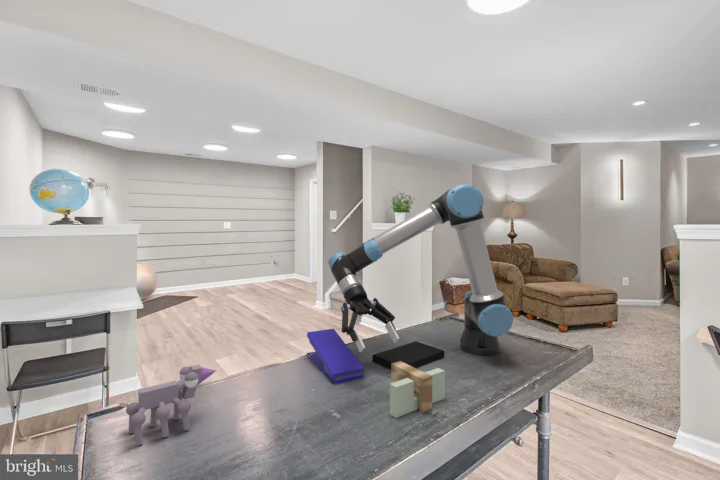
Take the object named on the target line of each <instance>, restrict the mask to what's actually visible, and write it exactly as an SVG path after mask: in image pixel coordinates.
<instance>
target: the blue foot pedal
mask: <svg viewBox="0 0 720 480" xmlns="http://www.w3.org/2000/svg"><path fill="white" fill-rule="evenodd" d="M306 337H307V339H308V340H309V344H310V345H311V347H312V348H313V350H314V351H311V352H307V353H306V356H307V355H309V356H310V357H308V359H309V360H310V361H312V363H314V364H315V365H316V366H317V367H318V368H319V369H320V370H321V371H322V372H323V373H324V374H325V375H326V376H327V377H328V378H329V379H330V380H331V381H333V383H334V384H335V385H336V384H340V383H345V382H349V381H353V380H357V379H361V378H364V377H365V376H364V370H365V368H364V366H363V364H361V362H360V361H359V359H358V358H357V356H355V355H354V353H353V352H352V349H350V347H348V345H347V344H346V342H345V341H344V340H343V339H342V338H341V336H340V334H339V333H338V332H337V331H336V329H335V328H328V329H320V330H314V331H309V332H307V334H306ZM313 353H315V354H313ZM310 354H312V355H310Z"/></svg>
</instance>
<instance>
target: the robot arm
mask: <svg viewBox="0 0 720 480" xmlns="http://www.w3.org/2000/svg"><path fill="white" fill-rule="evenodd" d="M483 207H484V197H483V194H482V192H481V191H480V189H479V188H478V187H476V186H474V185H473V184H469V183H462V184H457V185H455V186H453V187H451V188H450V189H448V190H446V191H445V192H444V193H443V194H441V195H440V196H438V198H436V199H434V200H433V201H431V202H429V205H428V206H427V207H425V208H424V209H422V210H420V211H419V212H416V213H415V214H413V215H411V216H410V217H408V218H406V219H404V220H402V221H401V222H399V223H397V224H395V225H394V226H392V227H390V228H388V229H386V230H385V231H383V232H381V233H380V234H378V235H376V236H373V238H371V239H368V240H366V241H365V242H363V243H361V244H359V245H358V247H357V248H355V249H353V250H352V251H351V252H349V253H345V252H342V251H340V252H337V253H336V252H335V253H334V254H332V255H331V256H330V257H329V259H328V260H327V261H328V266H329V269H330V272H331V274H332V275H333V277H334V279H335V281H336V283H337V285H338V287H339V290H340V292H341V294H342V295H343V298H344V300H345V302H343V304H342V305H341V307H340V309H341V313H342V314H341V316H342V317H341V332H342V334H344V333H345V334H346V335H347V336H350V339H351V341H352V342H354V343H355V345H356V346H357V350H358V352H359V353H361V352H363V351H364V350H365V349H366V346H365V343H364V341H363V339H362V338H361V335H360V333H359V331H358V328H355V325H356V321H357V319H358V316H360V317H361V316H364V315H369V316H373V317H374V318H376V319H377V320H378V321H380V322H382V323H383V324H385V325H384V327H385V329H386V331H387V333H388V335H389V336H390V338H391V341H392V342H393V344H396V343H397V342H398V340H400V337H399V335H398V333H397V328H396V327H395V324H394V323H393V322H394V320H395V319H396V316H395V315H394V314H393V313H391V312H390V310H389V309H387V308H386V307H385V306H384V305H383V304H381V303H380V301H379V300H378V299H377V298H376V297H374V298H373V299H371V300H370V299H369V298H368V294H367V292H366V289H365V288H364V287H363V283H362V282H361V280H360V278H359V277H358V274H357V273H359V272H361V270H363V269H365V268H366V267H369V266H370V265H372V264H373V263H375V262H377V261H378V260H380V259H381V258H383V256H384V254H386V253H387V252H390V251H391V250H393V249H395V248H396V247H398V246H400V245H401V244H403V243H406V242H408V241H409V240H411V239H413V238H414V237H416V236H418V235H420V234H421V233H424V232H426V231H427V230H429V229H431V228H432V227H434V226H436V225H438V224H439V225H444V224H445V223H447V222H449V223H450V224H449V225H450V227H451V228H453V229H455V231H456V234H457V237H458V241H459V245H460V250H461V253H462V257H463V261H464V265H465V269H466V272H467V273H466V274H467V278H468V280H469V284H470V289H471V290H470V291H469V290H467V291H466V292H465V294H464V298H463V300H464V301H463V302H464V314H463V316H464V317H463V318H464V328H463V332H462V334H461V337H460V340H459V349H460V350H462V351H463V352H466V353H469V354H472V355H477V356H479V355H480V356H494V355H497V354H499V353H500V352H501V344H500V343H499V342H500V341H499V339H498V337H500V336H503V335H505V334H507V333H508V332H509V331H510V329H511V328H512V326H513V324H514V316H513V313H512V311H511V309H510V307H508V306H507V304H506V300H505V295H504V293H503V292H502V291H501V290H500V289H498V287H497V282H496V277H495V276H494V271H493V266H492V262H491V259H490V255H489V250H488V247H487V242H486V239H485V235H484V230H483V227H482V222H483V221H484V219H485V216H484V211H483ZM349 310H350V311H352V314H351V317H350V322H349ZM354 328H355V329H354Z"/></svg>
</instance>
